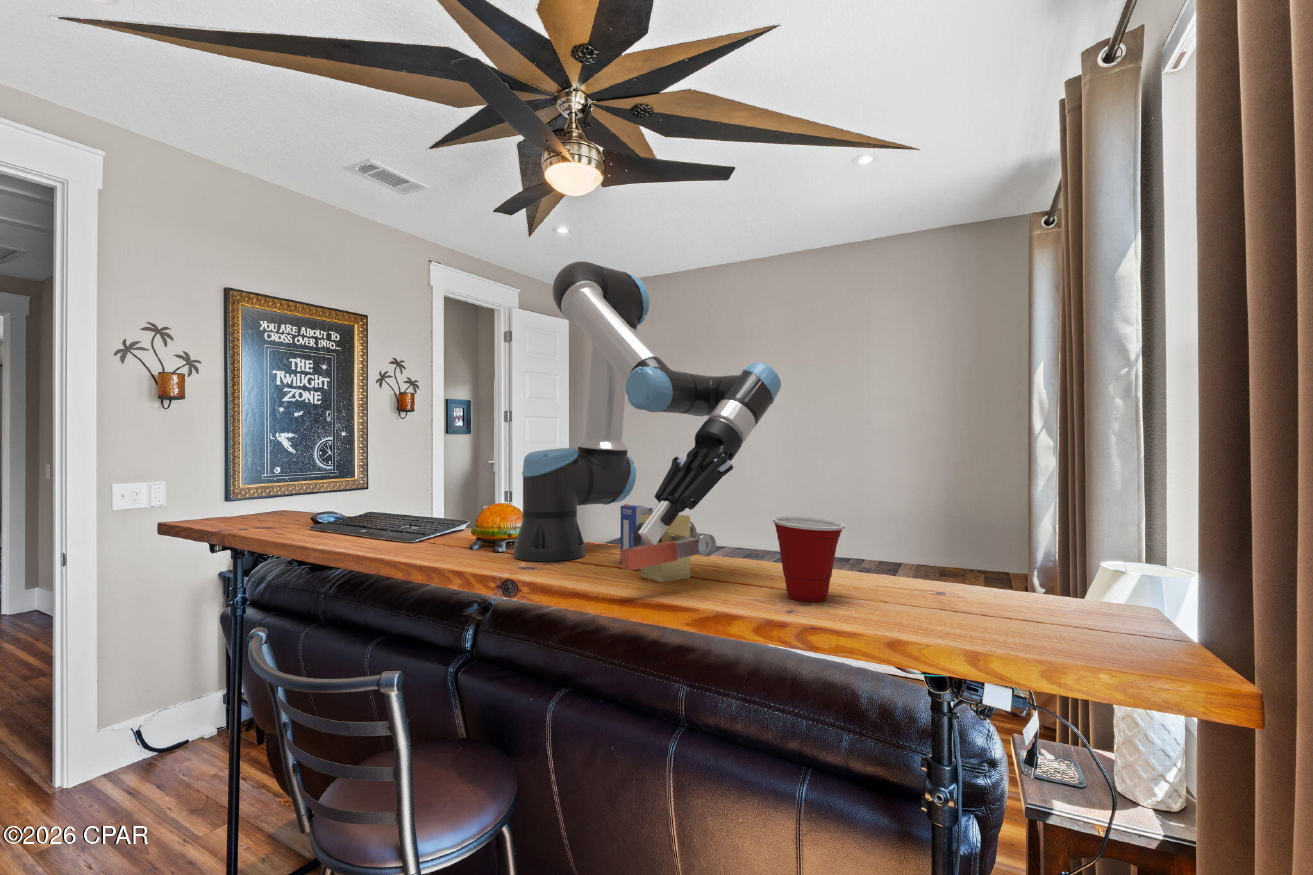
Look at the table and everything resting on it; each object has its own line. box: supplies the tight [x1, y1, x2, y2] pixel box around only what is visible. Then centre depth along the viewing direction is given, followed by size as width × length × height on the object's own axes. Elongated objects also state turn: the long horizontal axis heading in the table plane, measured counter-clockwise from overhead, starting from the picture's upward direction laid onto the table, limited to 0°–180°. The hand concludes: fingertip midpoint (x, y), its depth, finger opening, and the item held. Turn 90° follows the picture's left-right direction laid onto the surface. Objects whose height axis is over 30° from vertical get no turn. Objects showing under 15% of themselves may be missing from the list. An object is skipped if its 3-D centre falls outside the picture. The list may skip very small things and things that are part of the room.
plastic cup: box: [772, 515, 846, 603], centre depth 88 cm, size 11×11×12 cm
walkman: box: [619, 503, 654, 570], centre depth 115 cm, size 8×3×12 cm, turn 35°
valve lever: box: [621, 532, 717, 571], centre depth 91 cm, size 2×4×17 cm
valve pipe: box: [633, 513, 698, 583], centre depth 101 cm, size 11×10×11 cm
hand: (646, 538), depth 88 cm, fingers closed
